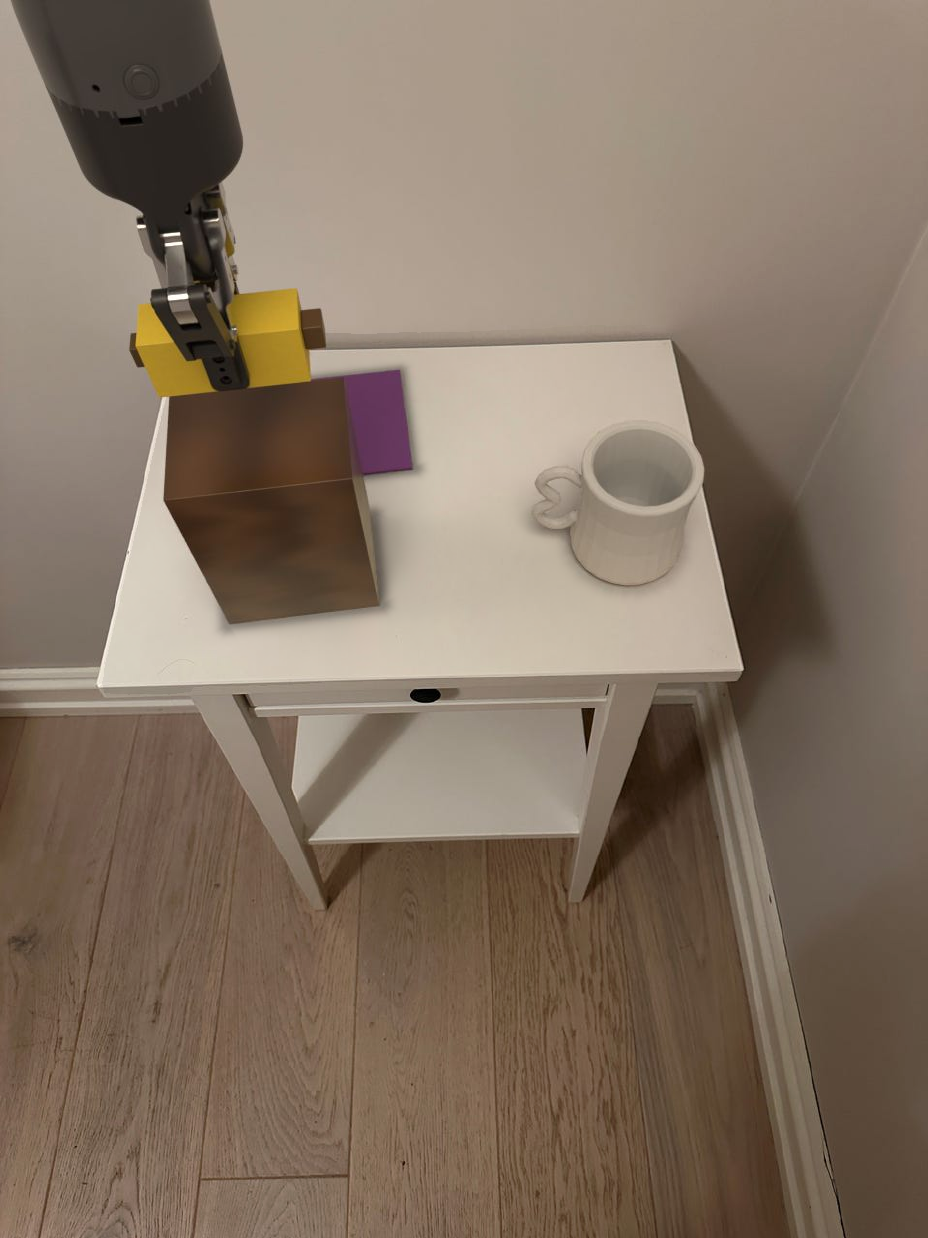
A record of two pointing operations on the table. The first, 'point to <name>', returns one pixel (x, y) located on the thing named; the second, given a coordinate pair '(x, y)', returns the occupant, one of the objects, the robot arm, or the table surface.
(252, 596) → the block
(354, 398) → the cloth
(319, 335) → the yellow brick
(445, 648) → the table surface
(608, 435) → the mug
